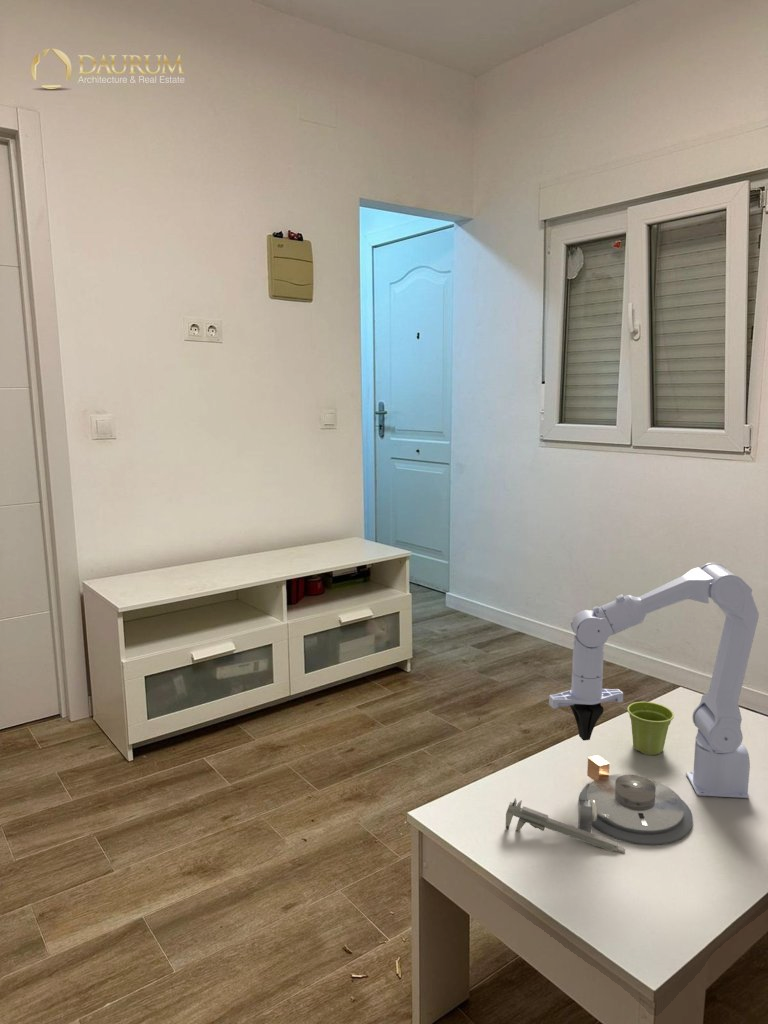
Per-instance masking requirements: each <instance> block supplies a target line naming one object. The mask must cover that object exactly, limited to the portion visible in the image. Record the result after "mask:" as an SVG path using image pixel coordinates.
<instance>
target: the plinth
mask: <svg viewBox="0 0 768 1024" xmlns="http://www.w3.org/2000/svg"><path fill="white" fill-rule="evenodd" d="M590 784H591V783H589V784H588V785H586V786H585V787H584V788H583V789H582V790H581V791H580V793H579V795H578V801H577V802H578V803H577V804H578V805H577V806H579V800H587V790H588V787H589V785H590ZM681 800H682V801H683V804H684V818H683V821H682V823H681V824H680V825H679V826H678V827H677V828H675V829H673V830H671V831H668V832H665V833H659V834H639V833H633V832H628V831H624V830H621V829H618V828H616V827H613V826H611V825H609V824H607V823H605V822H604V821H602V820H601V819H599V818H598V817H597V821H592V824H591V827H593V829H595V830H597V831H599V832H601V833H602V834H603V835H606V836H608V837H611V838H613V839H615V840H618V841H622V842H624V843H629V844H634V845H641V846H662V845H667V844H672V843H675V842H678V841H680V840H681V839H682V840H683V838H685V837H686V836H687V835H689V833H690V832H691V830H692V827H693V819H694V818H693V813H692V810H691V809H690V807H689V805H688V804H687V803H686V802H685V801H684V800H683V799H682V798H681Z"/></svg>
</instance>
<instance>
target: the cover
mask: <svg viewBox="0 0 768 1024" xmlns="http://www.w3.org/2000/svg"><path fill="white" fill-rule="evenodd" d="M647 778H648V777H645V776H642V775H638V774H628V775H622V776H620V777H618V778H617V779H616V782H615V799H616V801H617V802H618V803H619V804H620V805H622V806H623V807H626V808H628V809H632V810H637V811H644V810H649V809H651V808H652V807H654V805H655V791H656V787H655V785H654V783H653V782H652V781H650V780H649V779H650V778H649V779H647Z"/></svg>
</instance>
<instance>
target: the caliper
mask: <svg viewBox="0 0 768 1024" xmlns="http://www.w3.org/2000/svg"><path fill="white" fill-rule="evenodd" d="M517 801H518V800H517V799H516V797H514V799H513V802H509V804H508V807H507V810H506V812H505V829H506V830H508V831H509V829H510V825H511V823H512V819H513V817H516V818H518V821H517V824H516V826H515V833H520V831H521V829H522V828H523V827H524V825H525V824H526V823H527V824H529V825H531V826H532V827H533V828H534V829H539V830H540V831H541V832H544V831H545V828H546V829H548V830H552V831H554V832H557V833H558V834H559V833H560V834H561V835H565V836H569V837H571V838H574V839H577V840H579V841H581V842H584V843H587V844H590V845H593V846H594V847H598V848H600V849H603V850H606V851H610V852H615V853H617V852H619V853H621V854H626V848H625V847H624V846H620V845H619V842H617V841H614V840H611V839H608V838H606V837H604V836H601V835H598V834H595V833H593V832H591V833H590V832H587V831H584V830H581V829H579V828H578V827H576V826H573V825H570V824H567V823H564V822H562V821H558V820H556V819H554V818H551V817H549V815H548V814H545V813H543V812H539V811H538V810H535V809H532V808H530V807H526V806H522V802H523V800H522V799H521V800H519V801H518V803H517Z"/></svg>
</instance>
